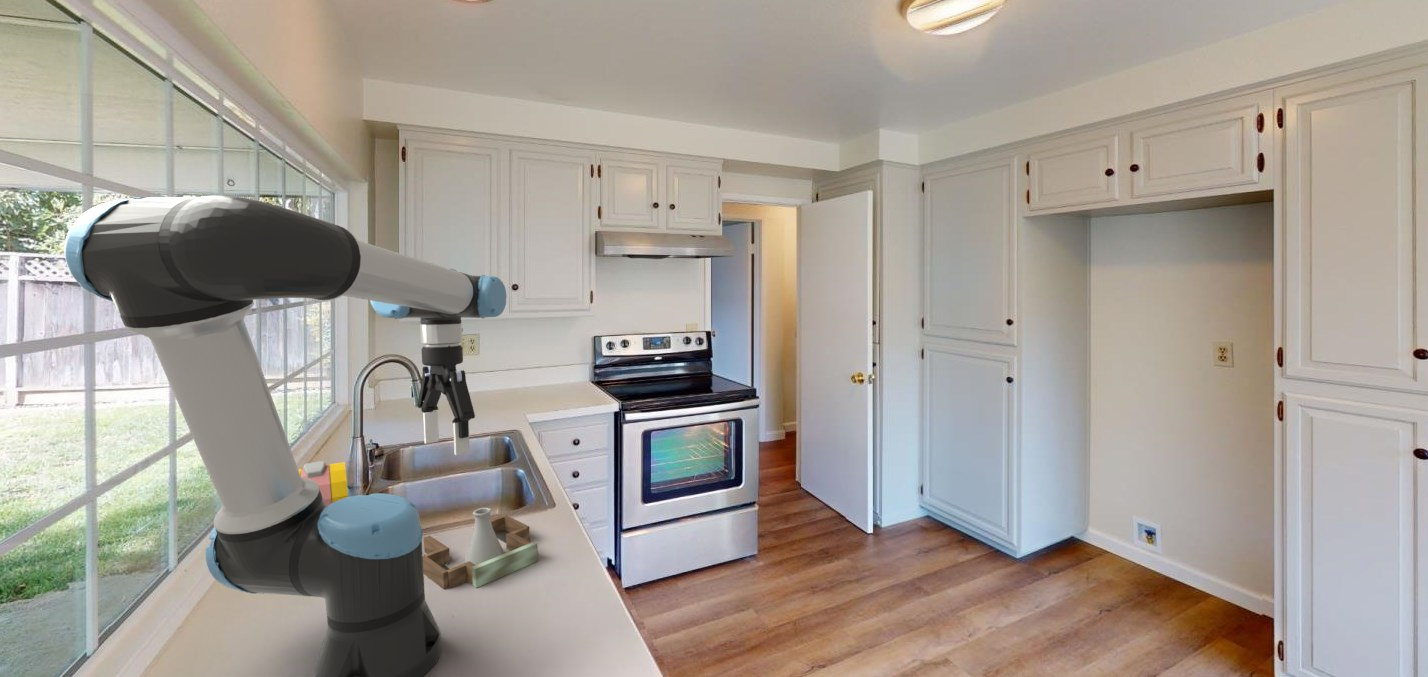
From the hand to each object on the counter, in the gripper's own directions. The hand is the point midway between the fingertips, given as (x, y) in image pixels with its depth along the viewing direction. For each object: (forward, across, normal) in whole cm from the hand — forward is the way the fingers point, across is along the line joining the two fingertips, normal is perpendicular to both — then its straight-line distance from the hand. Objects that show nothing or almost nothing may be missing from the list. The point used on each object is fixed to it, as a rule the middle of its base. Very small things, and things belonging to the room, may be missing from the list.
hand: (446, 447), depth 114 cm
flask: (+20, -13, -1) cm, 24 cm away
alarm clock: (+20, +16, +18) cm, 31 cm away
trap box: (+20, -11, -1) cm, 23 cm away
